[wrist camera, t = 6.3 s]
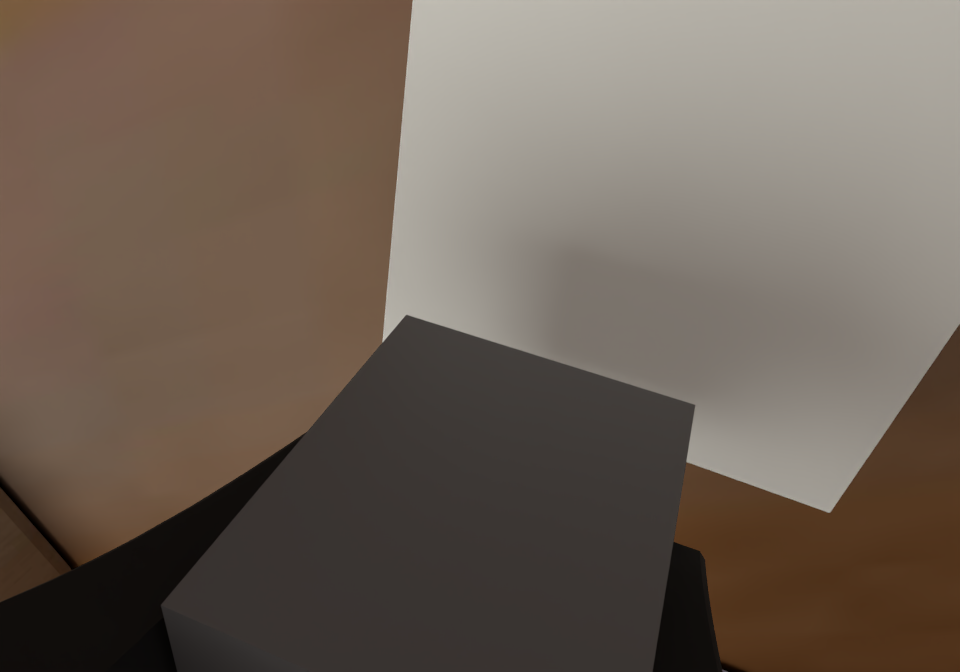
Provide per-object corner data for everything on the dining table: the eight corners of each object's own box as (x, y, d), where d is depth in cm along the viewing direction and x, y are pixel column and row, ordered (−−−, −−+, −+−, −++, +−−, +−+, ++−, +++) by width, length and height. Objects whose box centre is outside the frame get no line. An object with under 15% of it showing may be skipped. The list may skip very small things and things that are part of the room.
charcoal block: (695, 405, 10) (630, 812, 6) (619, 591, 13) (535, 967, 8) (406, 314, 11) (161, 604, 7) (392, 506, 14) (210, 804, 9)
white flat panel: (1097, -60, 12) (1206, -36, 9) (821, 405, 19) (829, 512, 16) (506, -173, 14) (429, -187, 11) (441, 280, 21) (381, 353, 18)
